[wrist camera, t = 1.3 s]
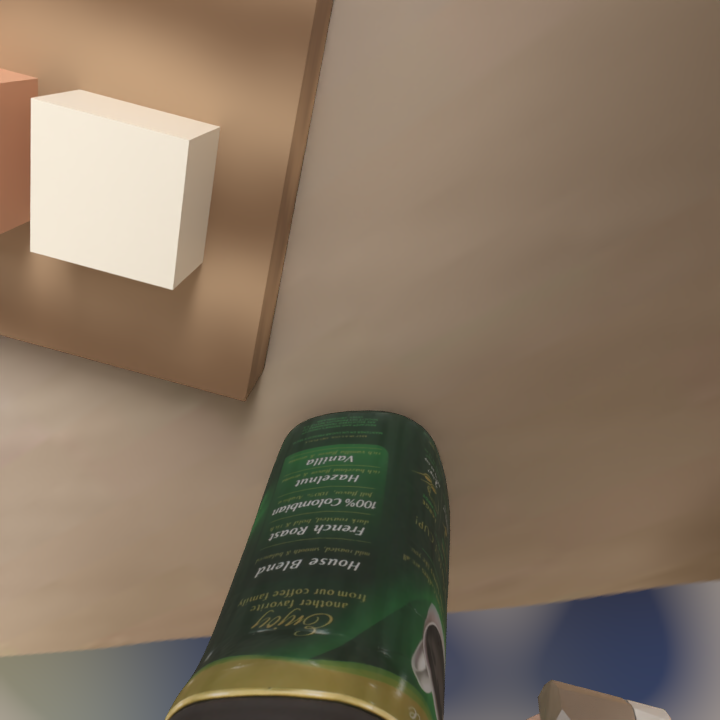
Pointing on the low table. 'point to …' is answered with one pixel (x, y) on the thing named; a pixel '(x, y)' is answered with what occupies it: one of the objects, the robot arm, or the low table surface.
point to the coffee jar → (337, 583)
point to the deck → (230, 185)
